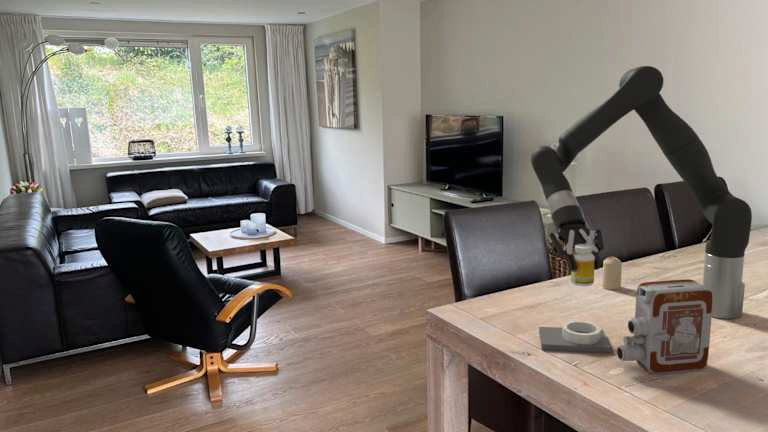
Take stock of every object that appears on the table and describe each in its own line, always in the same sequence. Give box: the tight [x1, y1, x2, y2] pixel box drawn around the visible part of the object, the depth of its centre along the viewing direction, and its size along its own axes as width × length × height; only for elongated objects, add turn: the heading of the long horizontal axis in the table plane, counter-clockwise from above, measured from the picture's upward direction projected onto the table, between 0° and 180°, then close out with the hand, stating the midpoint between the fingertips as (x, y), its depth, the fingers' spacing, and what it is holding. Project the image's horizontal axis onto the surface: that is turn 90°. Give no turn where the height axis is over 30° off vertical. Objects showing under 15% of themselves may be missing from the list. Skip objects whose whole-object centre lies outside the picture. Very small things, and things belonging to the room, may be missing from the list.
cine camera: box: [616, 278, 713, 375], centre depth 126 cm, size 9×19×20 cm, turn 95°
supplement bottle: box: [570, 243, 595, 287], centre depth 139 cm, size 5×5×10 cm
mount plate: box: [538, 320, 611, 354], centre depth 143 cm, size 16×11×4 cm
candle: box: [602, 256, 623, 291], centre depth 181 cm, size 6×6×10 cm
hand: (586, 268), depth 137 cm, fingers closed on supplement bottle, 5 cm apart
